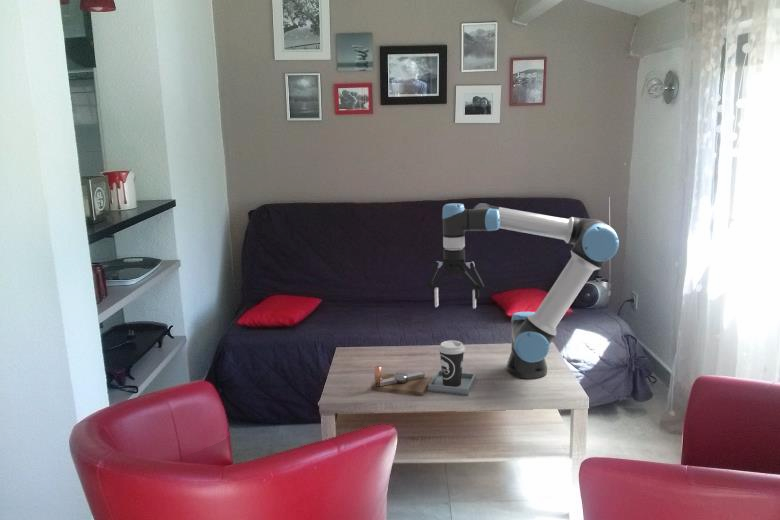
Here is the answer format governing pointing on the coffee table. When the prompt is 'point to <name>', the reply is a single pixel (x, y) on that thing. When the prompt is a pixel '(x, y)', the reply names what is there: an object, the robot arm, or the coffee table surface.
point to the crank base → (404, 386)
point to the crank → (395, 377)
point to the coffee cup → (451, 362)
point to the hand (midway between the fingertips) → (455, 306)
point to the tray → (463, 389)
